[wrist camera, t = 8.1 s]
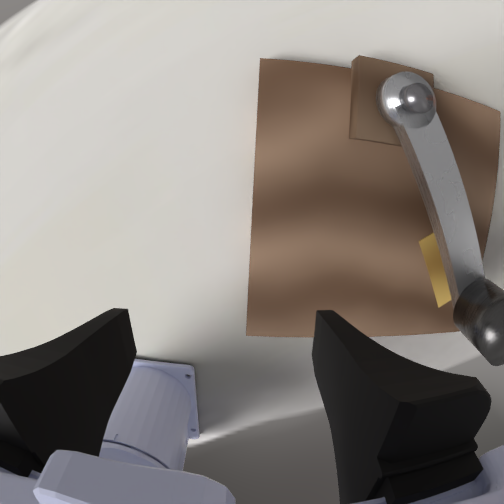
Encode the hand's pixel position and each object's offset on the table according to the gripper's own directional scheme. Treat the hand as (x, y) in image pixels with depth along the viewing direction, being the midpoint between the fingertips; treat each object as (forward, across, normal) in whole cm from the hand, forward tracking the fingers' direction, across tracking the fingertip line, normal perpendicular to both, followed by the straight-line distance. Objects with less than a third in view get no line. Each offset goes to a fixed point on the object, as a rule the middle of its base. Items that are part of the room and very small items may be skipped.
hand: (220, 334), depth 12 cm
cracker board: (+10, -10, -3) cm, 15 cm away
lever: (+7, -13, -3) cm, 15 cm away
